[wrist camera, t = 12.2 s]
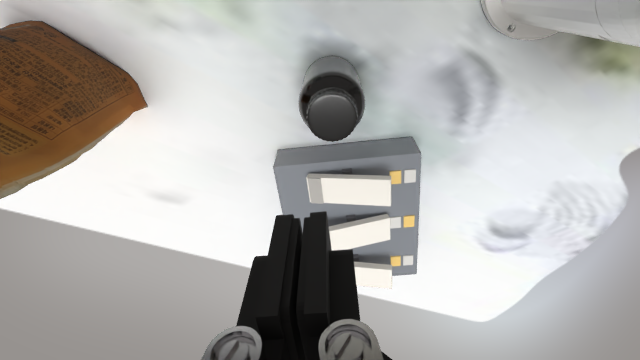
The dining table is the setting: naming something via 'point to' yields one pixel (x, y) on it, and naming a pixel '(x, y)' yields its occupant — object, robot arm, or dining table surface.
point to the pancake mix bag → (54, 102)
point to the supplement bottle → (331, 98)
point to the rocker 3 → (373, 275)
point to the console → (360, 159)
